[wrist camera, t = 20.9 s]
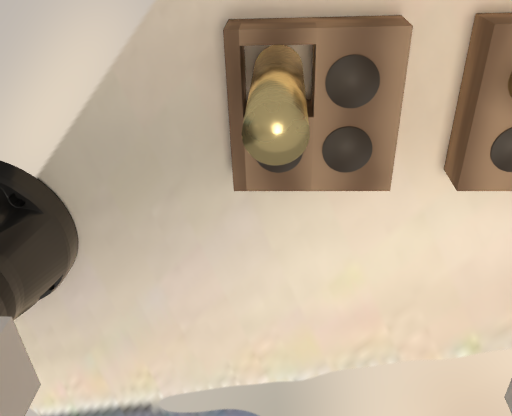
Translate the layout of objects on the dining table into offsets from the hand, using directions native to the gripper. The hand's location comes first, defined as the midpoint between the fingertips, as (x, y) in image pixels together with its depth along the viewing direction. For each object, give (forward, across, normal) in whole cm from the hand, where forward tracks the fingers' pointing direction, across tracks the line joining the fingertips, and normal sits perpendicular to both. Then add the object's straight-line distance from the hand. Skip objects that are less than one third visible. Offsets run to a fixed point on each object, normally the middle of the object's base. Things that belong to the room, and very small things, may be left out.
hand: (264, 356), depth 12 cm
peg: (+27, 0, 0) cm, 27 cm away
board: (+27, +20, -2) cm, 33 cm away
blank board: (+27, +2, -2) cm, 27 cm away
